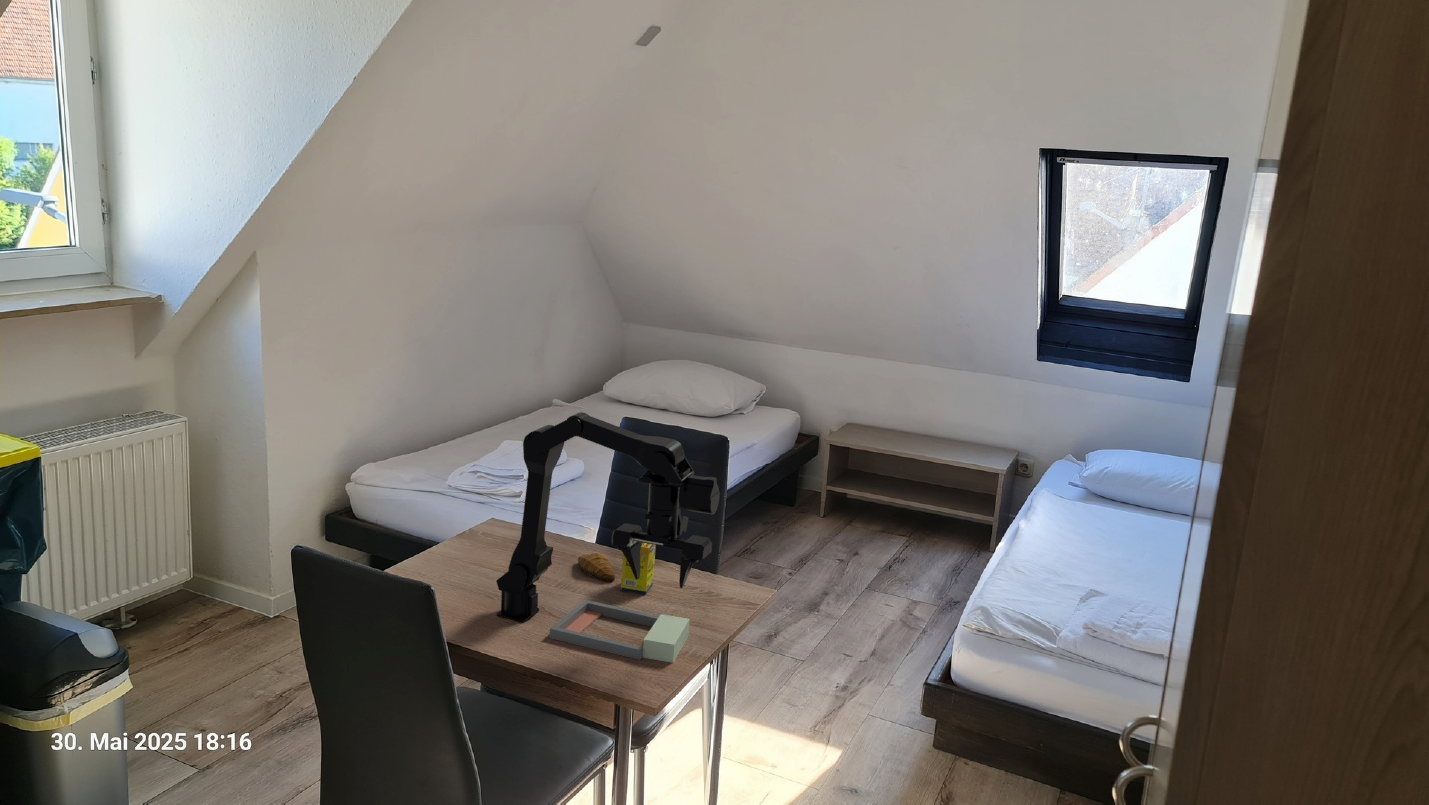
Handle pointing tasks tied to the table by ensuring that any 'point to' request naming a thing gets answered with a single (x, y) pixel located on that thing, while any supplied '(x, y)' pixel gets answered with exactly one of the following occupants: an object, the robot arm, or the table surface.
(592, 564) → the croissant
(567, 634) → the channel
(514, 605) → the robot arm
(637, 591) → the supplement box
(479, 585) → the table surface
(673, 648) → the block
